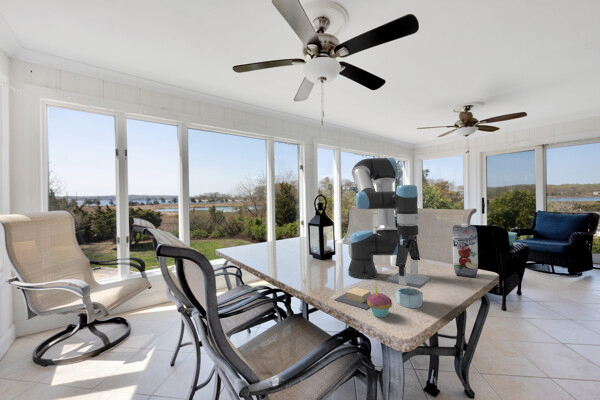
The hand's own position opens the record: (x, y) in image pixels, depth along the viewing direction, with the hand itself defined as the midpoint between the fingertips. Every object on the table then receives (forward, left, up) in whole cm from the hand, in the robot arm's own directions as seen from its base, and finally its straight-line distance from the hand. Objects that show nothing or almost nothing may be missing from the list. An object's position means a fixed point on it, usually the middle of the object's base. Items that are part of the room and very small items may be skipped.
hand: (408, 280), depth 98 cm
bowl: (0, 0, -9) cm, 9 cm away
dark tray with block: (-17, -9, -9) cm, 21 cm away
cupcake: (-5, -16, -9) cm, 19 cm away
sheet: (0, 0, 0) cm, 0 cm away
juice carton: (+10, +54, -9) cm, 56 cm away
